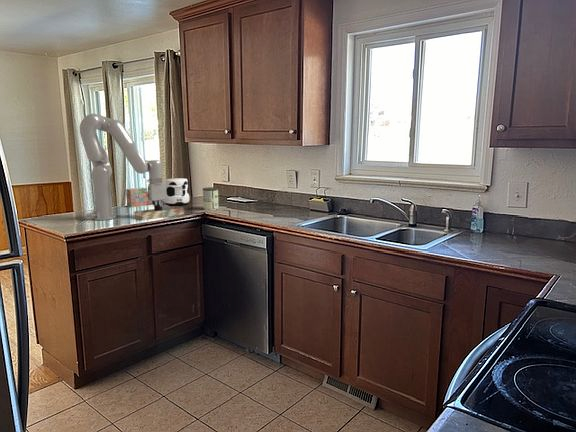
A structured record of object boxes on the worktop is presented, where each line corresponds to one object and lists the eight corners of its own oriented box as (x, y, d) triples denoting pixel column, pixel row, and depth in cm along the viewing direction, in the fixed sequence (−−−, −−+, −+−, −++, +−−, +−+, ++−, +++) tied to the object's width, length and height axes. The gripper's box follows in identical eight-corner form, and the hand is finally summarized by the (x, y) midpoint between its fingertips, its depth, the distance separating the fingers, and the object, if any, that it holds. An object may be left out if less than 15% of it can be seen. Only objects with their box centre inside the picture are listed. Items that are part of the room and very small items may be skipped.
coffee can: (205, 207, 298) (205, 187, 295) (220, 208, 297) (219, 187, 294) (201, 210, 288) (200, 188, 285) (216, 210, 287) (216, 189, 284)
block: (162, 213, 264) (162, 206, 263) (158, 212, 267) (157, 205, 266) (169, 212, 267) (169, 205, 267) (165, 211, 271) (165, 204, 270)
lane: (142, 220, 252) (142, 213, 251) (134, 218, 258) (134, 211, 258) (184, 214, 272) (183, 208, 271) (175, 212, 278) (175, 206, 278)
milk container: (176, 202, 323) (175, 177, 319) (194, 203, 315) (193, 178, 312) (159, 205, 307) (158, 179, 304) (178, 207, 300) (177, 180, 296)
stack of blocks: (154, 203, 317) (153, 186, 315) (159, 204, 313) (158, 187, 311) (126, 206, 301) (125, 188, 299) (131, 207, 297) (130, 189, 295)
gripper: (147, 182, 252) (149, 213, 256) (170, 180, 263) (171, 210, 266) (141, 181, 257) (142, 212, 261) (163, 179, 268) (165, 209, 271)
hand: (157, 211), depth 263 cm, fingers closed
